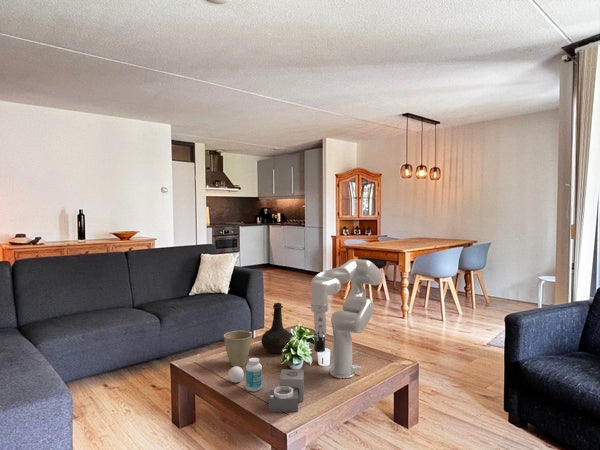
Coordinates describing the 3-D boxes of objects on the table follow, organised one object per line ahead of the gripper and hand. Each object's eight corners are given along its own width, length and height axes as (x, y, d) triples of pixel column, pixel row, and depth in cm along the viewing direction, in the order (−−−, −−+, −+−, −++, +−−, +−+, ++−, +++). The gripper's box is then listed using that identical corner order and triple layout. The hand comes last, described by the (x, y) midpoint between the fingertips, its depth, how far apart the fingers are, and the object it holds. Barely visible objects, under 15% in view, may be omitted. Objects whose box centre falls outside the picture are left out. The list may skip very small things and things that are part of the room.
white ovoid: (247, 382, 185) (246, 367, 184) (233, 386, 180) (233, 371, 180) (235, 375, 192) (235, 360, 192) (222, 379, 187) (222, 364, 187)
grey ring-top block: (297, 401, 166) (297, 385, 166) (298, 411, 158) (298, 394, 158) (269, 402, 166) (269, 386, 165) (268, 412, 158) (268, 395, 157)
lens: (324, 347, 179) (324, 330, 179) (325, 352, 174) (325, 334, 174) (313, 348, 179) (313, 331, 179) (314, 352, 174) (314, 334, 174)
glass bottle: (256, 353, 221) (255, 305, 220) (270, 343, 237) (270, 298, 236) (284, 358, 214) (284, 308, 213) (297, 347, 230) (297, 301, 229)
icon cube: (280, 401, 166) (279, 379, 166) (281, 390, 176) (281, 369, 176) (303, 402, 166) (303, 379, 165) (303, 391, 176) (303, 369, 175)
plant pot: (250, 370, 198) (249, 339, 198) (221, 369, 199) (221, 339, 198) (254, 358, 213) (253, 330, 213) (227, 358, 214) (227, 330, 213)
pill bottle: (255, 393, 173) (255, 364, 173) (242, 389, 177) (242, 360, 177) (265, 387, 180) (265, 358, 179) (252, 383, 183) (252, 355, 183)
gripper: (329, 312, 167) (329, 354, 168) (325, 302, 184) (326, 340, 185) (312, 313, 167) (312, 354, 168) (310, 302, 184) (310, 340, 185)
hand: (319, 346), depth 177 cm, fingers closed on lens, 5 cm apart
